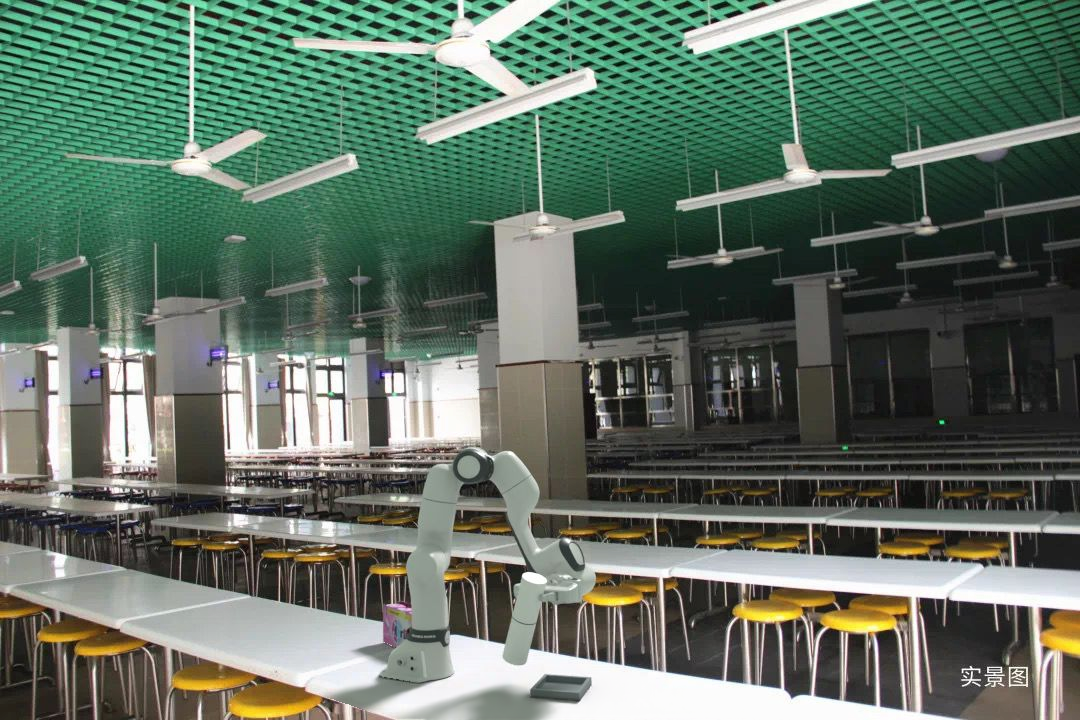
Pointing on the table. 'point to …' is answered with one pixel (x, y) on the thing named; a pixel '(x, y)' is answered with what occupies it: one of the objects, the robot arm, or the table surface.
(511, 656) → the cylindrical container
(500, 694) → the table surface
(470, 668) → the table surface
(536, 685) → the tray
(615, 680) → the table surface
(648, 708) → the table surface
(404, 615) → the pink product box
